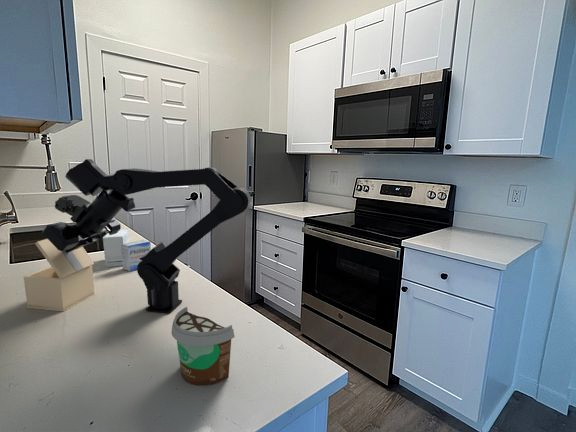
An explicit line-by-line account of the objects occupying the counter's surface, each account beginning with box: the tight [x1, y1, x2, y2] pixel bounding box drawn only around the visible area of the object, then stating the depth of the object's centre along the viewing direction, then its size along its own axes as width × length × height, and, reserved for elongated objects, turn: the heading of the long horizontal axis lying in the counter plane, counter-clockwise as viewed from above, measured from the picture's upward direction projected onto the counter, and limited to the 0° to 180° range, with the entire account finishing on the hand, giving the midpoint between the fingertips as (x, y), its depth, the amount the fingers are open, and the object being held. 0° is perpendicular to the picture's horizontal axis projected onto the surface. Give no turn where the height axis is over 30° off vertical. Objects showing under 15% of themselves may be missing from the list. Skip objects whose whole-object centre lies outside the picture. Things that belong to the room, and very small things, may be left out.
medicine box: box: [121, 239, 152, 272], centre depth 108 cm, size 8×4×9 cm, turn 143°
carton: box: [23, 265, 95, 312], centre depth 82 cm, size 10×10×8 cm
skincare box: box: [102, 229, 131, 268], centre depth 113 cm, size 10×6×10 cm, turn 15°
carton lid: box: [34, 238, 95, 279], centre depth 80 cm, size 10×10×1 cm
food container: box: [170, 306, 235, 387], centre depth 55 cm, size 12×6×10 cm, turn 56°
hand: (66, 251), depth 80 cm, fingers closed
